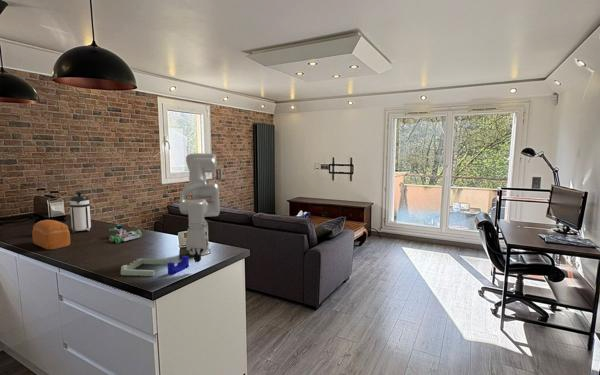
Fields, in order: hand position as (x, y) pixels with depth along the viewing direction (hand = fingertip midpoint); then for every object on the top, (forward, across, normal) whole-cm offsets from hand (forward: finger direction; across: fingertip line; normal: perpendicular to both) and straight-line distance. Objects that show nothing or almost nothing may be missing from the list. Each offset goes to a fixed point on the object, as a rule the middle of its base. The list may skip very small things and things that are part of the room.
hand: (197, 261), depth 163 cm
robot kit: (+3, +77, -56) cm, 95 cm away
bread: (+3, +113, -38) cm, 119 cm away
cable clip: (+6, +11, -1) cm, 13 cm away
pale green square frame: (+5, +27, -1) cm, 28 cm away
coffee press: (+2, +121, -74) cm, 142 cm away
